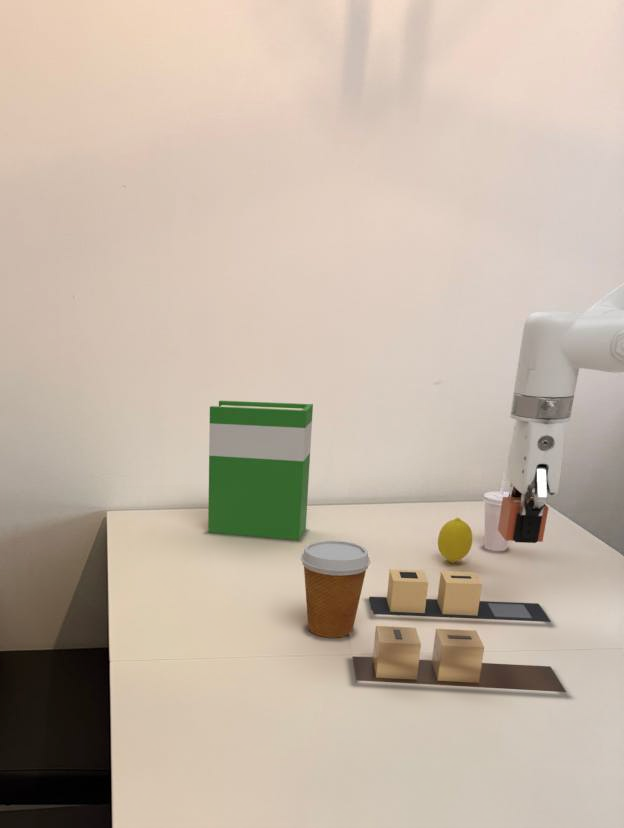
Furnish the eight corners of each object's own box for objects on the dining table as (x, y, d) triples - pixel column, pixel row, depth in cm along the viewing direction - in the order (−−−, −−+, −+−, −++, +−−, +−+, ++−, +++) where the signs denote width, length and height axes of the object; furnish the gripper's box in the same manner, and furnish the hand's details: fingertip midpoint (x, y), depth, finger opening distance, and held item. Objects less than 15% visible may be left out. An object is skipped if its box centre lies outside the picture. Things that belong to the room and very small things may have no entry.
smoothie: (504, 541, 160) (515, 466, 154) (520, 552, 154) (533, 475, 149) (470, 542, 159) (480, 468, 154) (485, 554, 154) (496, 476, 148)
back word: (538, 605, 132) (543, 571, 129) (550, 624, 125) (557, 588, 123) (369, 598, 135) (372, 565, 133) (373, 616, 129) (376, 581, 127)
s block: (533, 531, 126) (539, 497, 124) (542, 541, 122) (548, 506, 120) (497, 529, 127) (502, 496, 125) (505, 540, 122) (510, 505, 121)
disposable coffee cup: (356, 647, 119) (363, 565, 114) (288, 636, 123) (293, 556, 118) (370, 622, 127) (377, 544, 122) (306, 612, 131) (311, 536, 126)
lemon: (448, 555, 153) (453, 511, 150) (475, 563, 149) (482, 518, 146) (428, 561, 150) (433, 517, 147) (456, 570, 146) (462, 525, 143)
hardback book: (208, 532, 168) (209, 406, 159) (217, 521, 174) (220, 400, 165) (299, 540, 162) (306, 411, 153) (305, 528, 169) (313, 404, 160)
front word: (550, 669, 112) (557, 630, 110) (565, 694, 106) (573, 653, 104) (352, 658, 116) (355, 621, 114) (356, 683, 109) (359, 643, 107)
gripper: (590, 419, 109) (564, 556, 116) (553, 397, 125) (532, 519, 132) (528, 418, 110) (506, 553, 117) (498, 397, 126) (480, 517, 133)
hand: (520, 534), depth 124 cm, fingers closed on s block, 5 cm apart
